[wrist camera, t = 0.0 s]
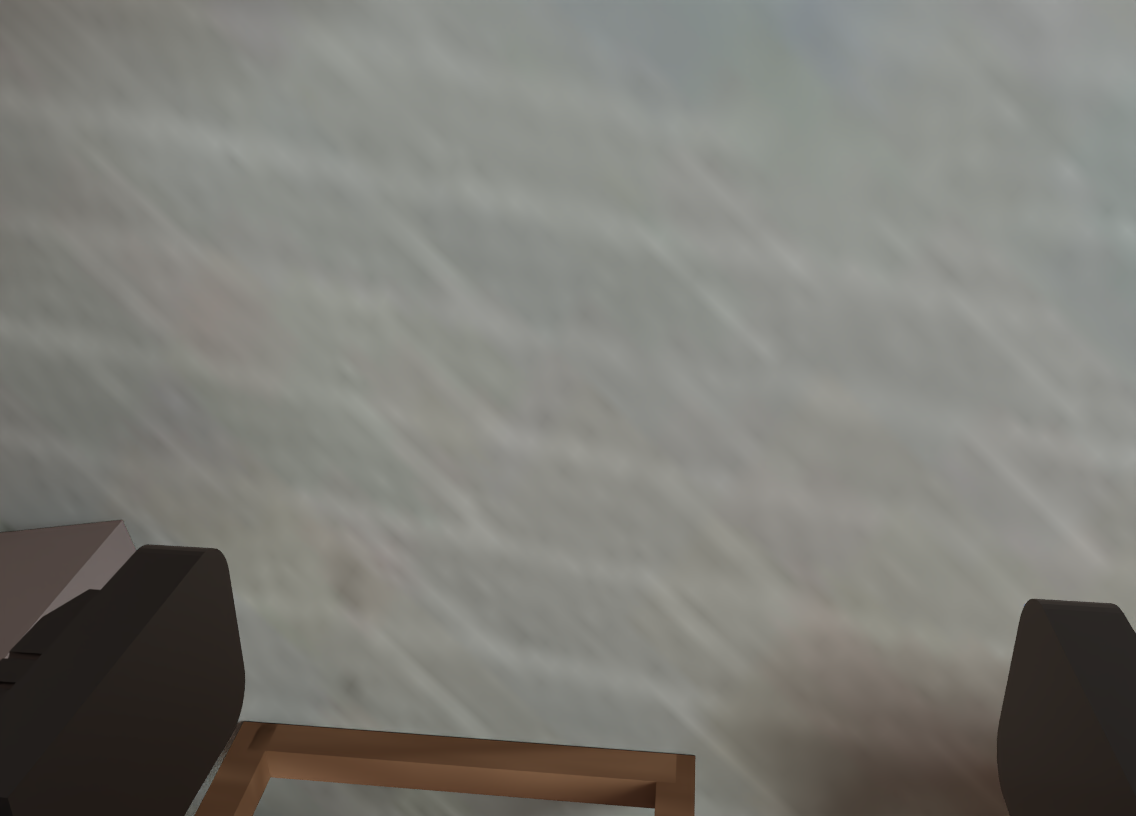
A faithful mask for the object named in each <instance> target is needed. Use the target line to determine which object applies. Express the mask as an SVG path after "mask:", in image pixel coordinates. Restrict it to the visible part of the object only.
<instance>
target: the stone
mask: <svg viewBox="0 0 1136 816" xmlns="http://www.w3.org/2000/svg"><path fill="white" fill-rule="evenodd" d="M135 552H136V549H135V546H134V544H133V542H132V540H131V538H130V535H129V533H128V531H127V529H126V526H125V524H124V522H123V520H117V521H107V522H98V523H88V524H79V525H69V526H59V527H50V528H40V529H30V530H21V531H11V532H2V533H0V660H1V659H2V658H7V659H8V657H9V651H10V650H11V649H12V648H13V647H14V646H15V645H16V644H17V643H18V642H19V641H20V640H21V639H22V637H23V636H24V635H25V634H26V633H27V632H28V631H29V630H30V629H31V628H32V627H33V626H34V625H35V624H36V623H37V622H38V621H39V620H40V619H41V618H42V617H43V616H45V615H46V614H48V613H50V612H51V611H53V610H55V609H57V608H58V607H60V606H62V605H63V604H65V603H67V602H68V601H70V600H72V599H73V598H75V597H77V596H78V595H80V594H82V593H83V592H85V591H87V590H88V589H97V590H101V589H102V588H103V587H104V585H105V584H106V583H107V582H108V581H109V580H110V579H111V578H112V577H113V576H114V574H115V573H116V572H117V571H118V570H119V569H120V568H121V567H122V566H123V565H124V564H125V562H126V561H127V560H128V559H129V558H130V557H131V556H132V555H133V554H134V553H135Z"/></svg>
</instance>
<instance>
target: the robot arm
mask: <svg viewBox="0 0 1136 816" xmlns="http://www.w3.org/2000/svg"><path fill="white" fill-rule="evenodd" d="M244 691H245V670H244V662H243V656H242V650H241V643H240V637H239V631H238V625H237V618H236V612H235V606H234V599H233V593H232V587H231V580H230V574H229V569H228V564H227V561H226V559H225V557H224V555H223V554H222V552H221V551H220V550H218V549H214V548H199V547H182V546H165V545H149V544H148V545H144V546H142V547H140V548H139V549H138V550H137V551H136V552H135V553H134V554H133V555H132V556H131V557H130V558H129V559H128V560H127V561H126V562H125V564H124V565H123V566H122V567H121V568H120V569H119V570H118V571H117V572H116V573H115V574H114V576H113V577H112V578H111V579H110V580H109V581H108V582H107V583H106V584H105V585H104V587H103V588H102V589H101V590H97V589H88V590H87V591H85V592H83V593H82V594H80V595H78V596H77V597H75V598H73V599H72V600H70V601H68V602H67V603H65V604H63V605H62V606H60V607H58V608H57V609H55V610H53V611H51V612H50V613H48V614H46V615H45V616H43V617H42V618H41V619H40V620H39V621H38V622H37V623H36V624H35V625H34V626H33V627H32V628H31V629H30V630H29V631H28V632H27V633H26V634H25V635H24V636H23V637H22V639H21V640H20V641H19V642H18V643H17V644H16V645H15V646H14V647H13V648H12V649H11V650H10V651H9V657H8V659H7V658H2V659H1V660H0V816H184V815H185V813H186V812H187V810H188V808H189V806H190V805H191V803H192V801H193V800H194V798H195V796H196V794H197V793H198V791H199V789H200V788H201V786H202V784H203V783H204V781H205V779H206V777H207V776H208V774H209V772H210V771H211V769H212V767H213V765H214V764H215V762H216V760H217V759H218V757H219V755H220V754H221V752H222V750H223V748H224V747H225V745H226V743H227V742H228V740H229V738H230V737H231V735H232V733H233V731H234V729H235V727H236V724H237V722H238V719H239V716H240V713H241V709H242V704H243V699H244ZM997 763H998V773H999V780H1000V785H1001V790H1002V793H1003V797H1004V800H1005V803H1006V806H1007V808H1008V811H1009V814H1010V816H1136V633H1135V632H1134V630H1133V628H1132V627H1131V625H1130V623H1129V622H1128V620H1127V618H1126V617H1125V615H1124V613H1123V612H1122V611H1121V609H1120V608H1119V607H1118V606H1117V605H1115V604H1112V603H1095V602H1078V601H1062V600H1045V599H1030V600H1029V601H1028V602H1027V603H1026V604H1025V606H1024V608H1023V610H1022V613H1021V617H1020V621H1019V626H1018V631H1017V636H1016V641H1015V646H1014V651H1013V656H1012V661H1011V666H1010V671H1009V676H1008V681H1007V686H1006V691H1005V696H1004V701H1003V706H1002V711H1001V716H1000V721H999V727H998V736H997Z"/></svg>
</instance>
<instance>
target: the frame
mask: <svg viewBox="0 0 1136 816" xmlns="http://www.w3.org/2000/svg"><path fill="white" fill-rule="evenodd" d="M270 777H275V778H287V779H300V780H312V781H324V782H337V783H349V784H361V785H373V786H386V787H398V788H410V789H422V790H435V791H447V792H459V793H472V794H484V795H496V796H508V797H521V798H533V799H545V800H557V801H570V802H582V803H594V804H606V805H619V806H631V807H643V808H655V816H694V806H695V756H692V755H678V754H665V753H652V752H639V751H626V750H613V749H599V748H586V747H573V746H560V745H547V744H533V743H520V742H507V741H494V740H481V739H468V738H454V737H441V736H428V735H415V734H402V733H388V732H375V731H362V730H349V729H336V728H322V727H309V726H296V725H283V724H270V723H257V722H243V724H242V726H241V728H240V730H239V732H238V734H237V735H236V737H235V739H234V741H233V743H232V745H231V747H230V749H229V751H228V753H227V755H226V756H225V758H224V760H223V762H222V764H221V766H220V768H219V770H218V772H217V774H216V776H215V777H214V779H213V781H212V783H211V785H210V787H209V789H208V791H207V793H206V795H205V797H204V798H203V800H202V802H201V804H200V806H199V808H198V810H197V812H196V814H195V816H253V813H254V811H255V809H256V807H257V805H258V803H259V801H260V798H261V796H262V794H263V792H264V790H265V788H266V785H267V783H268V781H269V779H270Z"/></svg>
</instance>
